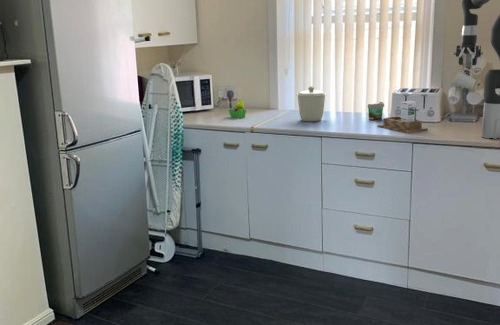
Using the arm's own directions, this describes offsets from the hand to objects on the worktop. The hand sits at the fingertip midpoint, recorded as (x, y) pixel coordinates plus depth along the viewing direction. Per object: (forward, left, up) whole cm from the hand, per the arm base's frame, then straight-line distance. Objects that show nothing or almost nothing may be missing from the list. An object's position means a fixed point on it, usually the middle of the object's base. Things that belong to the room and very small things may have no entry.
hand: (467, 65), depth 276 cm
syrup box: (+8, +33, -32) cm, 47 cm away
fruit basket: (+105, +89, -33) cm, 142 cm away
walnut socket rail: (+13, +33, -33) cm, 49 cm away
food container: (+42, +25, -33) cm, 59 cm away
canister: (+65, +58, -33) cm, 93 cm away
